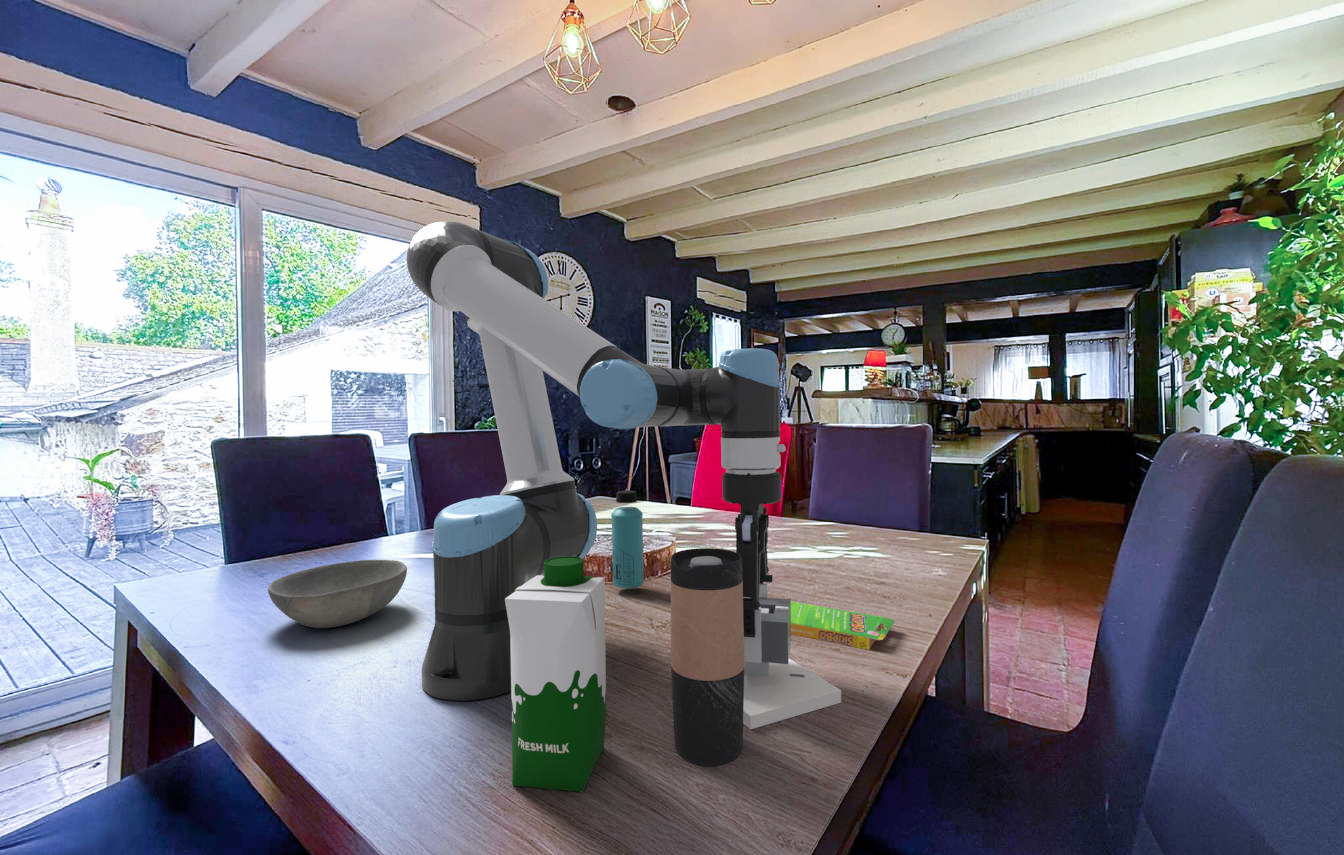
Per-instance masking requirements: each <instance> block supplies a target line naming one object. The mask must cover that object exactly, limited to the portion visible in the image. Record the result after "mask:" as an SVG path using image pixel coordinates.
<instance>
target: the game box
mask: <svg viewBox="0 0 1344 855" xmlns="http://www.w3.org/2000/svg"><path fill="white" fill-rule="evenodd" d="M894 624H895V620H894V619H892V618H889V617H885V616H879V615H872V614H867V613H860V612H855V611H850V610H843V609H837V608H833V607H832V608H831V607H827V606H826V607H825V606H819V605H814V604H807V603H802V602H795V601H791V635H794V636H799V637H803V638H808V639H813V640H819V641H822V642H827V643H833V644H838V645H843V646H846V647H847V646H848V647H852V648H857V649H863V650H869V651H870V650H871V648H872V647H873V645H874V643H875V642H876V641H883V640H884V639H885V638H886V636H887V634H888V633H889V632H890V630H891V628H892V627H893V625H894Z"/></svg>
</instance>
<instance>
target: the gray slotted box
mask: <svg viewBox="0 0 1344 855" xmlns="http://www.w3.org/2000/svg"><path fill="white" fill-rule="evenodd" d="M743 598H750V597H743ZM791 602H792V600H791V598H781V597H780V598H779V597H777V598H776V597H775V598H774V597H768V598H761V597H759V603H760V607H761V608H768V609H769V613H761V640H762V662H767V663H779V664H788V661H789V659H790V652H791V642H792V634H791Z"/></svg>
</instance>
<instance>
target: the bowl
mask: <svg viewBox="0 0 1344 855" xmlns="http://www.w3.org/2000/svg"><path fill="white" fill-rule="evenodd" d="M407 574H408V568H407V565H405V563H404V562H402V561H399V560H395V559H393V560H392V559H363V560H362V559H361V560H352V561H351V560H350V561H344V562H337V563H336V562H335V563H332V564H326V565H320V566H316V567H312V568H307V569H304V570H299V571H296V572H293V573H290V574H287V575H284V576H282V577H279V578H277V579H274V581H272V582H271V583H270V584H269V585H268V587H267V593H268V595H269V598H270V600H271V602H272V603H273V604H274V605H275V607H276V608H277V609H278V610H279V611H280V612H281V613H282V614H284V615H285V616H287V617H288V618H289V619H291V620H292V621H293V622H296V623H297V624H300V625H302V626H305V627H309V628H315V629H331V627H332V628H337V627H338V628H339V627H342V626H346V625H349V624H352V623H355V622H359V621H360V620H364V619H366V618H368V617H370V616H372V615H374V614H375V613H377V612H378V611H380V610H382V609H384V608H385V607H386V606H387V605H388V604H390V603H391V602H392V601H393V600H394V599H395V597H396V596H397V595H398V594H399V592H400V591H401V589H402V587H403V585H404V583H405V580H406V578H407Z"/></svg>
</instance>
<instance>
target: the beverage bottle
mask: <svg viewBox="0 0 1344 855" xmlns="http://www.w3.org/2000/svg"><path fill="white" fill-rule="evenodd" d="M615 502H616V503H618V504H632V503H637V502H638V497H637V492H636V491H635V490H618V491H617V492H616V499H615ZM643 514H644V513H643V512H642V510H640V509H639V508H638V507H635V506H621V507H620V506H619V507H617V508H615V509H614V510H613V511H612V513H611V515H610V517H611V538H610V540H611V553H612V554H611V559H612V562H611V576H612V579H611V581H612V584H613V586H614V587H616V588H619V589H634V588H635V589H636V588H640V587H641V586H643V585H644V582H645V580H646V579H645V558H644V557H645V554H644V553H645V552H644V551H645V550H644V546H645V545H644V533H643V531H644V530H643V516H644V515H643Z"/></svg>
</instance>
